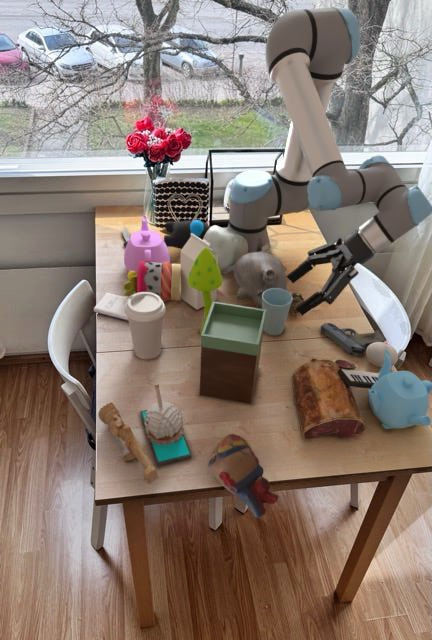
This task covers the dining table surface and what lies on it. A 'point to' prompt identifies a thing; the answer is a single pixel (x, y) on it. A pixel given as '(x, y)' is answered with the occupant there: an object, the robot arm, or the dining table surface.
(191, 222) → the toy
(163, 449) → the smartphone
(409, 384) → the teapot
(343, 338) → the handgun
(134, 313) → the coffee cup
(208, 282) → the mushroom
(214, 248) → the planter
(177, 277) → the cake
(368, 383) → the midi keyboard
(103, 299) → the hard drive
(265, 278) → the piggy bank
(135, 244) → the teapot
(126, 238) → the knife
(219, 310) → the tray
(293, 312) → the pendant
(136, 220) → the dining table surface
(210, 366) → the stand
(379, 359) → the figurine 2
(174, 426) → the decorative ornament
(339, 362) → the cured meat
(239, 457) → the anatomical model
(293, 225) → the dining table surface
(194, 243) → the milk carton
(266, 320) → the cup
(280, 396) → the dining table surface
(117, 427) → the figurine
